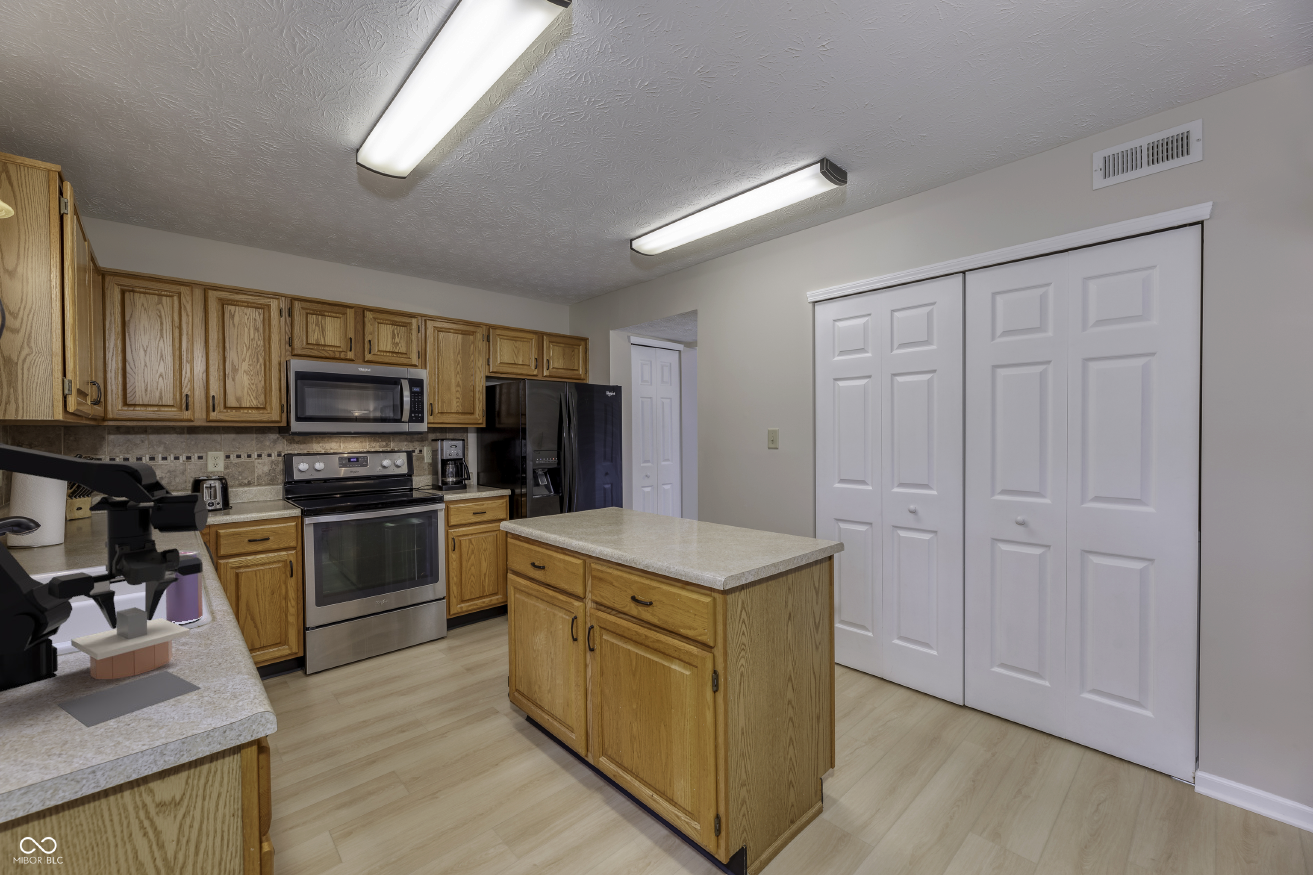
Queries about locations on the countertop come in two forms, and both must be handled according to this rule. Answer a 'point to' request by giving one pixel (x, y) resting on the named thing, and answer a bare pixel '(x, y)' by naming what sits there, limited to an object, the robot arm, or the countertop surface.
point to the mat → (127, 698)
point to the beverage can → (185, 595)
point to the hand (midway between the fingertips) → (131, 624)
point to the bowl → (131, 662)
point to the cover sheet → (123, 645)
